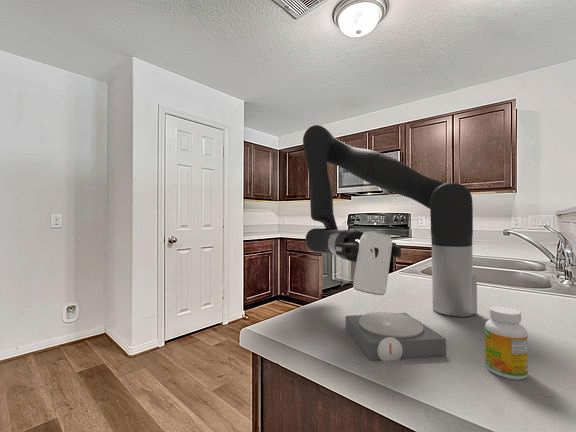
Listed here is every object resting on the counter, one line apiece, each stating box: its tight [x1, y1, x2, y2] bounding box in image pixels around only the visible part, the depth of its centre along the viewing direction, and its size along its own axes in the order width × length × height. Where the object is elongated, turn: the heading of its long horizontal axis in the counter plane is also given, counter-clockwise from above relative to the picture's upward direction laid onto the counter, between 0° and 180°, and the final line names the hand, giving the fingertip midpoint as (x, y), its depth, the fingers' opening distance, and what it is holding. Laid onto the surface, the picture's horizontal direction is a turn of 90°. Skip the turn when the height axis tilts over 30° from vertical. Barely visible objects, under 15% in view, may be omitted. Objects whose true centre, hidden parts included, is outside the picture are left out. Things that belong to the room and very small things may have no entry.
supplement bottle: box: [484, 305, 529, 381], centre depth 46 cm, size 5×5×10 cm
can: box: [352, 230, 393, 296], centre depth 59 cm, size 6×6×12 cm
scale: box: [345, 311, 447, 362], centre depth 57 cm, size 14×15×4 cm
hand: (388, 252), depth 56 cm, fingers open, 4 cm apart
